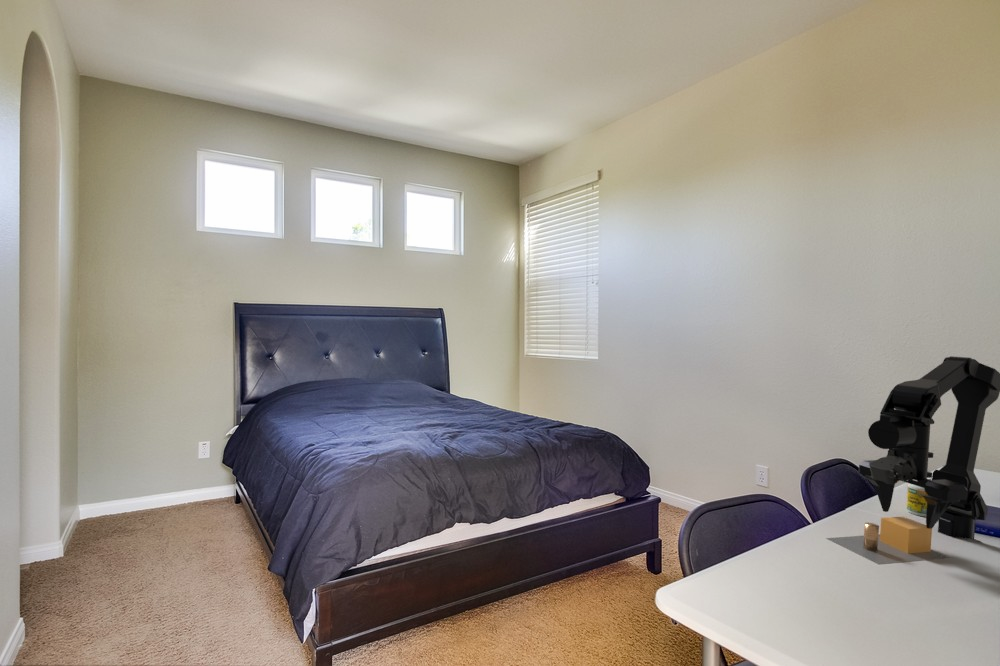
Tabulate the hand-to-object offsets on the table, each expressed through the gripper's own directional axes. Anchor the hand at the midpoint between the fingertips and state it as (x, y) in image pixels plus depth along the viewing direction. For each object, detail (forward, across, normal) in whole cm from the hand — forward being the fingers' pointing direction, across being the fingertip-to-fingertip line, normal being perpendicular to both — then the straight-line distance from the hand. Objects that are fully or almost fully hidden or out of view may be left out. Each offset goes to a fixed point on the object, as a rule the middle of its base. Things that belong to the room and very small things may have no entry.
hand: (906, 519), depth 110 cm
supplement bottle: (+8, -19, +29) cm, 35 cm away
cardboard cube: (+6, 0, 0) cm, 6 cm away
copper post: (+6, 0, -9) cm, 11 cm away
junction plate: (+7, 0, -5) cm, 9 cm away
